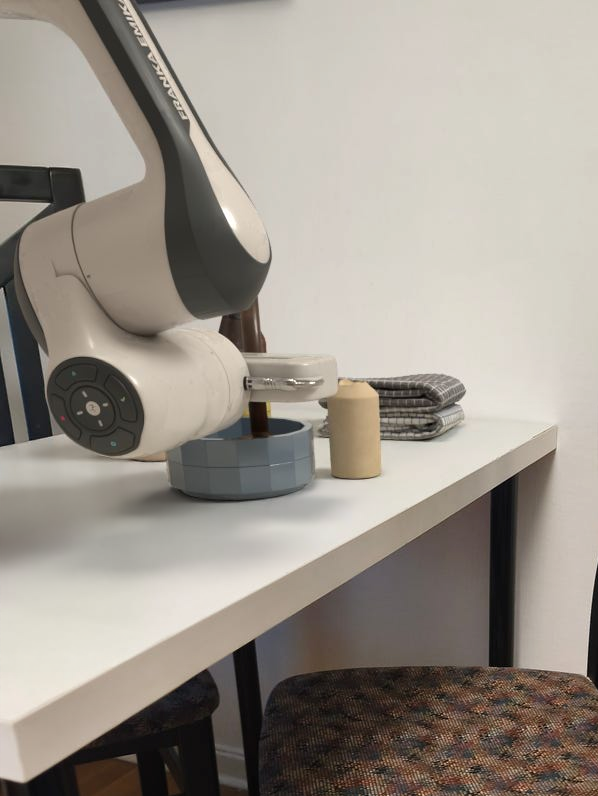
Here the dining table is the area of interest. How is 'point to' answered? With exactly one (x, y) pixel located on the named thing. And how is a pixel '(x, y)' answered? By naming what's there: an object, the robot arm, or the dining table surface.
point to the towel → (413, 405)
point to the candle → (354, 430)
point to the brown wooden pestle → (254, 345)
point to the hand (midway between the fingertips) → (257, 366)
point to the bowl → (245, 461)
